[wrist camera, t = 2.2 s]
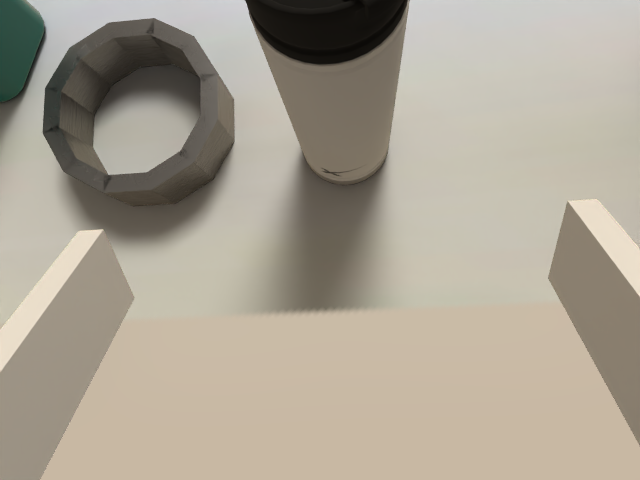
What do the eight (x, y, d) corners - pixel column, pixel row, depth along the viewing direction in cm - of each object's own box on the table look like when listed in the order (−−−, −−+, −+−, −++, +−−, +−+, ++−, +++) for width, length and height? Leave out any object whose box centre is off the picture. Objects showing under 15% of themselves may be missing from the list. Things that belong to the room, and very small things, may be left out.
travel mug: (343, 206, 33) (311, 57, 14) (286, 140, 35) (182, -84, 15) (409, 151, 34) (473, -75, 14) (350, 87, 35) (332, -205, 15)
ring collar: (263, 89, 35) (250, 61, 31) (183, 233, 34) (159, 222, 30) (129, 27, 37) (101, -6, 33) (49, 161, 36) (11, 143, 32)
